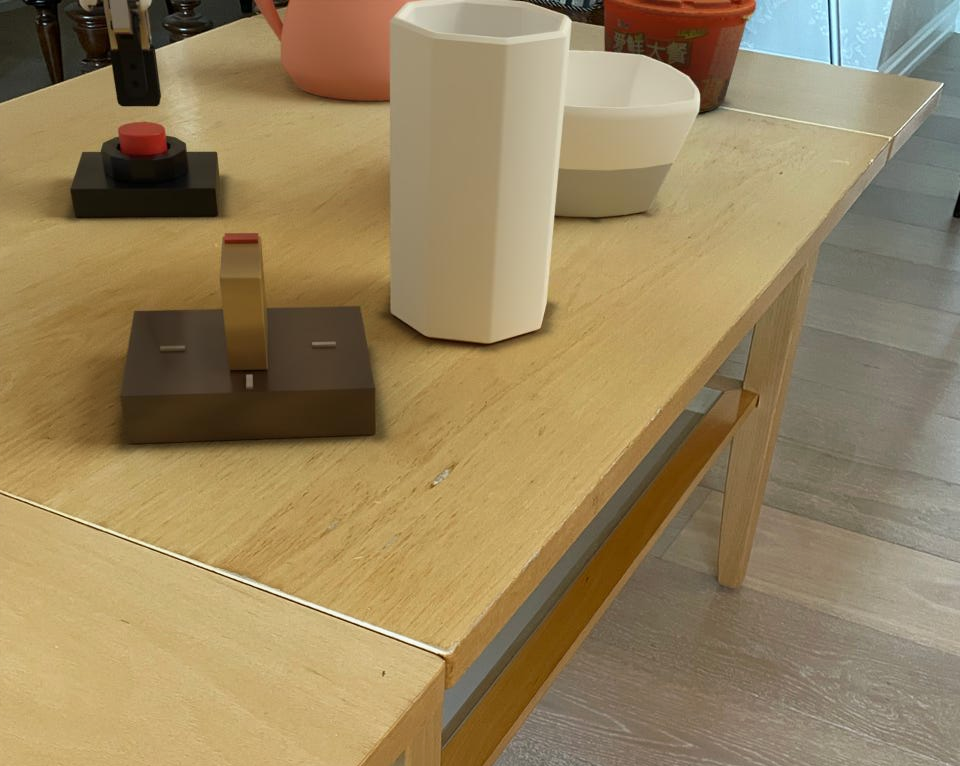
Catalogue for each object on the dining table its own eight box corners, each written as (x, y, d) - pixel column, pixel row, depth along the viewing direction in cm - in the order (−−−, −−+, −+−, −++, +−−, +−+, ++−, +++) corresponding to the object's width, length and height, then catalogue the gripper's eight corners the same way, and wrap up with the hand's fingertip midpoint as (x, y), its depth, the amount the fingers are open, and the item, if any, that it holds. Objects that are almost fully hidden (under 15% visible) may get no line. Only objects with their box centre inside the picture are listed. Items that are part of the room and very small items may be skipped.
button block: (75, 217, 90) (65, 165, 88) (86, 178, 97) (78, 128, 94) (218, 216, 92) (213, 164, 89) (219, 177, 99) (215, 128, 96)
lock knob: (267, 370, 66) (260, 273, 62) (228, 370, 66) (219, 273, 62) (267, 324, 71) (260, 231, 67) (231, 324, 70) (222, 231, 67)
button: (119, 159, 90) (115, 135, 89) (122, 144, 93) (119, 121, 92) (166, 158, 91) (163, 135, 90) (168, 144, 94) (165, 121, 93)
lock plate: (127, 444, 65) (119, 393, 63) (140, 355, 73) (133, 308, 71) (376, 434, 67) (375, 385, 65) (361, 349, 75) (360, 303, 73)
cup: (444, 265, 86) (452, -13, 74) (576, 303, 82) (607, 15, 70) (357, 317, 79) (351, 17, 67) (498, 361, 75) (518, 50, 63)
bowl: (457, 161, 105) (461, 48, 99) (643, 158, 108) (658, 48, 102) (500, 235, 92) (508, 110, 85) (710, 228, 95) (732, 107, 89)
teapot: (486, 67, 130) (492, -71, 121) (490, 111, 117) (498, -40, 109) (263, 56, 129) (253, -83, 120) (242, 99, 116) (230, -54, 107)
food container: (604, 71, 131) (616, -37, 124) (745, 88, 128) (764, -21, 122) (575, 108, 119) (586, -9, 113) (729, 128, 117) (750, 9, 110)
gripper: (55, -198, 83) (99, 76, 95) (26, -174, 72) (80, 133, 84) (162, -194, 84) (192, 76, 96) (150, -170, 73) (186, 133, 85)
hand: (140, 102), depth 90 cm, fingers closed
